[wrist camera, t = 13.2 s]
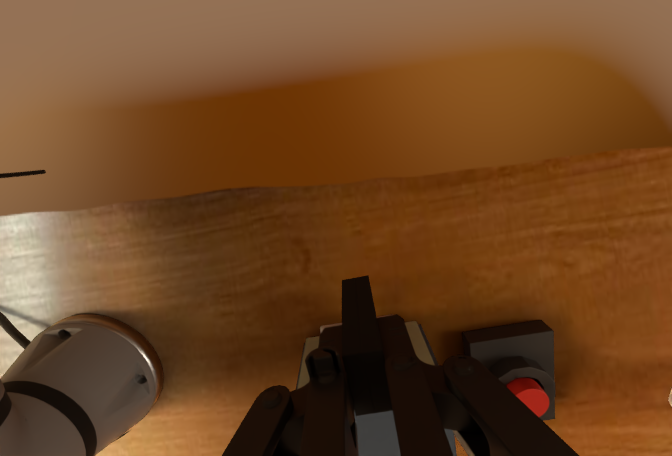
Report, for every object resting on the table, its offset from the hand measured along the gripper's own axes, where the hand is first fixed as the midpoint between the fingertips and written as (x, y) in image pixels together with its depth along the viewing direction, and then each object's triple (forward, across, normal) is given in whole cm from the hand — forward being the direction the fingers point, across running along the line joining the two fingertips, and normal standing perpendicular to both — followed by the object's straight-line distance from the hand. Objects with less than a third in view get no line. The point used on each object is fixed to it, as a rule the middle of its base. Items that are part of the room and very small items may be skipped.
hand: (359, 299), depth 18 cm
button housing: (+16, +14, -21) cm, 30 cm away
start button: (+13, +15, -21) cm, 29 cm away
